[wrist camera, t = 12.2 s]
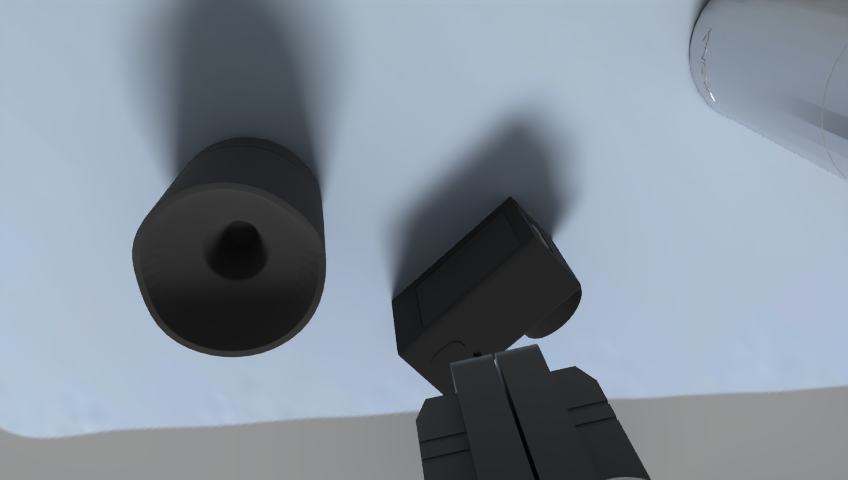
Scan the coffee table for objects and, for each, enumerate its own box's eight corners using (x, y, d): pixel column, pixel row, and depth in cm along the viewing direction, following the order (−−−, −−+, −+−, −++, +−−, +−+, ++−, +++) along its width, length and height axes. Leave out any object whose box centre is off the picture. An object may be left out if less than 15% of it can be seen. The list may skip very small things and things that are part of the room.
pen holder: (142, 227, 48) (95, 301, 39) (219, 98, 46) (188, 144, 36) (278, 300, 51) (264, 386, 42) (358, 182, 48) (361, 245, 39)
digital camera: (446, 353, 54) (460, 413, 47) (390, 302, 52) (396, 357, 45) (564, 252, 52) (596, 300, 45) (510, 195, 50) (535, 237, 43)
